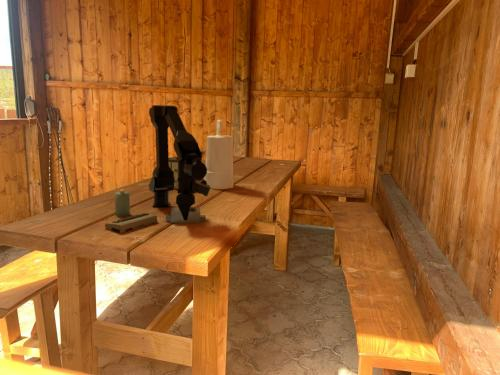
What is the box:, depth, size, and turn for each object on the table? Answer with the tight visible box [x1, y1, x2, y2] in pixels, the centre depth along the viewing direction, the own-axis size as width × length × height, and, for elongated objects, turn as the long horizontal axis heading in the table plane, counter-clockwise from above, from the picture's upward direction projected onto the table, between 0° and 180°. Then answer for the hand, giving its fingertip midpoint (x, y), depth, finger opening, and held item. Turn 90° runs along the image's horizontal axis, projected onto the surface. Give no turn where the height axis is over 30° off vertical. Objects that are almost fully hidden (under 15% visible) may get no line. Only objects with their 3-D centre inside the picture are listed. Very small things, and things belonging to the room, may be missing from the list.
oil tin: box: [114, 189, 131, 217], centre depth 141 cm, size 5×5×9 cm
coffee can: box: [169, 156, 178, 189], centre depth 192 cm, size 10×10×14 cm
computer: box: [104, 212, 158, 234], centre depth 130 cm, size 16×8×3 cm, turn 147°
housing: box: [165, 206, 206, 224], centre depth 138 cm, size 14×6×5 cm, turn 98°
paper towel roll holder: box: [203, 119, 235, 190], centre depth 195 cm, size 15×15×33 cm
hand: (185, 217), depth 138 cm, fingers closed on housing, 6 cm apart
